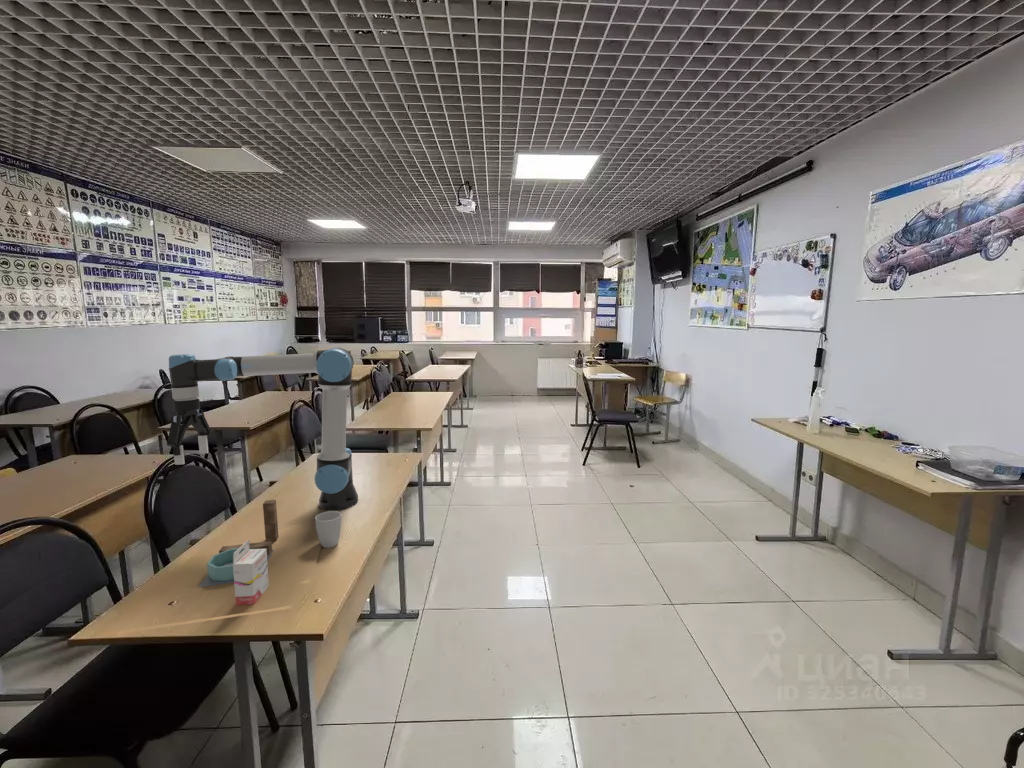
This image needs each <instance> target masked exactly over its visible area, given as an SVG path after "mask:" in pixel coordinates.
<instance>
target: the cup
mask: <svg viewBox="0 0 1024 768" xmlns="http://www.w3.org/2000/svg"><path fill="white" fill-rule="evenodd" d="M314 520H315V521H314V523H315V529H316V530H315V531H316V533H317V537H318V542H319V543H320V546H321V547H322V548H323V549H324V548H326V549H329V548H330V549H331V548H334V547H336V546H337V545H338V544H339V541H340V537H341V528H342V512H340V511H338V510H328V511H324V512H320V513H319V514H317V515H315V517H314Z"/></svg>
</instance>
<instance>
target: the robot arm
mask: <svg viewBox="0 0 1024 768" xmlns="http://www.w3.org/2000/svg"><path fill="white" fill-rule="evenodd" d="M354 361H355V360H354V358H353V355H352V354H351V352H349V351H348V350H347V349H345V348H342V347H333V348H328V349H324V350H321V349H320V350H316V351H315V352H313V353H311V352H310V353H294V354H293V353H292V354H273V355H272V354H270V355H268V354H267V355H249V356H248V355H247V356H225V357H219V358H215V359H196V356H195V354H192V353H190V354H189V353H184V354H172V355H170V356H169V357H168V371H169V372H168V373H169V378H170V386H171V395H172V400H173V401H172V405H173V406H172V407H173V411H174V412H176V413H177V415H171V417H170V422H171V423H170V427H169V432H168V437H167V440H166V441H167V442H166V446H168V447H172V452H173V453H172V454H173V459H174V465H177V466H179V465H185V464H186V462H185V453H184V445H183V444H182V443H183V440H184V436H185V434H186V431H187V429H189V428H190V426H192V427H193V428H194V430H195V432H197V434H198V436H197V441H198V449H199V450H198V451H199V454H209V443H208V436H209V435H211V427H210V425H209V424H208V421H207V419H206V416H205V413H204V409H202V408H201V401H200V398H199V397H200V391H199V384H198V383H199V382H213V381H214V382H219V381H221V382H227V381H233V380H235V379H236V378H237V377H249V376H250V377H254V376H270V375H271V376H272V375H293V374H311V373H315V374H317V375H318V376H317V377H318V378H317V380H318V381H317V384H318V386H319V387H320V388H321V389H322V397H321V399H322V400H321V401H322V402H321V403H322V404H321V405H322V406H321V445H320V447H321V448H320V449H321V450H320V453H318V454H317V455H316V472H315V474H314V484H315V486H316V488H317V490H319V491H321V492H320V496H319V499H318V506H319V508H321V509H322V508H323V510H328V511H336V510H335V509H337V510H343V509H346V508H350V507H352V505H353V506H354V505H356V504H357V503H358V502H357V501H359V495H358V492H357V490H356V487H355V484H354V479H353V476H354V475H353V463H352V462H353V461H352V457H353V454H352V450H351V449H350V448H348V447H347V445H346V443H347V411H348V410H347V407H348V405H347V404H348V402H347V401H348V389H349V388H350V387H351V386H352V380H353V379H352V377H353V376H352V374H353V373H352V372H353V368H354V366H355V365H354V364H355V362H354ZM355 503H356V504H355Z"/></svg>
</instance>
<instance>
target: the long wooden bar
mask: <svg viewBox="0 0 1024 768" xmlns="http://www.w3.org/2000/svg"><path fill="white" fill-rule="evenodd" d="M243 544H244V543H243ZM243 544H234V545H225V546H224V545H223V546H222V547H220V549H219V551H218V554H219V553H221V552H224V551H226V550H229V549H235V548H240V547H241V546H242V545H243ZM249 548H250V549H267V555H270V554H271V552H272V550H273V543H272V541H267V542H266V541H260V542H259V541H258V542H251V543H250V542H249Z"/></svg>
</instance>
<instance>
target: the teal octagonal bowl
mask: <svg viewBox="0 0 1024 768" xmlns="http://www.w3.org/2000/svg"><path fill="white" fill-rule="evenodd" d="M237 549H238V548H235V549H229V550H226V551H224V552H221V553H219V552H218V553H217V554H214V555H212V556H211V558H210V559H209V560H208V562H207V563H206V566H207V570H206V571H207V575H208V576H210V578H211V579H212V580H213V581H218V582H223V581H230V580H234V573H233V554H234V552H235V551H236V550H237ZM243 550H244V548H243V549H241V551H240V552H239V554H240V553H241V552H242V551H243ZM249 550H250V548H249Z"/></svg>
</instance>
